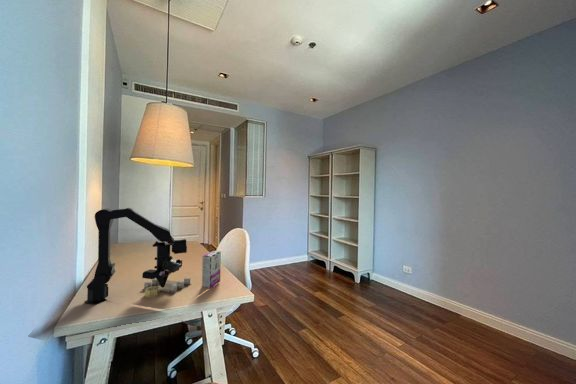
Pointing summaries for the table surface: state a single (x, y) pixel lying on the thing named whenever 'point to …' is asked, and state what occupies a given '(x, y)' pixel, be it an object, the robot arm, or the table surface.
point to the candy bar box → (211, 269)
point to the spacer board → (168, 285)
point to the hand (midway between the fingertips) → (162, 287)
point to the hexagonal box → (151, 292)
